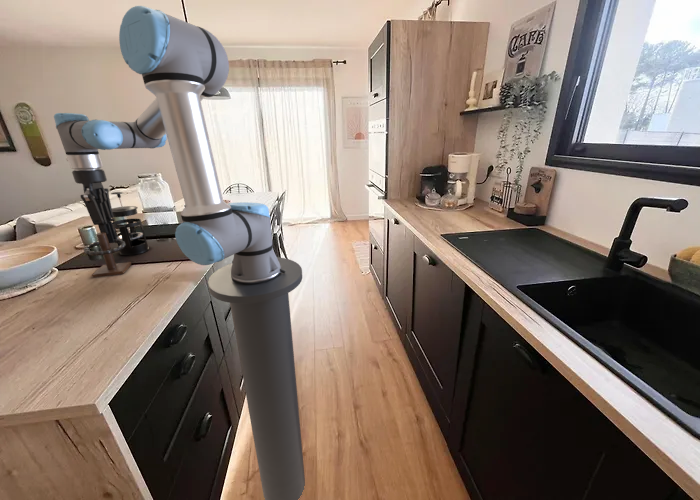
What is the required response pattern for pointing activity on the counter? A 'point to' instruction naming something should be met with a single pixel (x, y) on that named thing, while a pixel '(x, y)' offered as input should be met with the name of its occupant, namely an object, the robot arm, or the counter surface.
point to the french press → (129, 238)
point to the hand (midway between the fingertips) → (110, 241)
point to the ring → (86, 250)
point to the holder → (109, 260)
